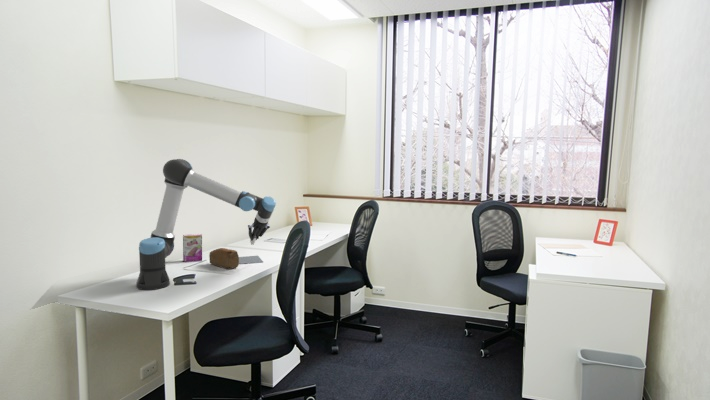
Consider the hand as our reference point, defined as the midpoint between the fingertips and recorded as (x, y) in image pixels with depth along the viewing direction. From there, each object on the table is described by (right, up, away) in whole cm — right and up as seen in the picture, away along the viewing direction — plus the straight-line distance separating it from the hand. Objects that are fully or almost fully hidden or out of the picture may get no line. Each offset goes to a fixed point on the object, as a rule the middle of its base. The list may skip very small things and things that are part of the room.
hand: (251, 242), depth 259 cm
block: (-8, -9, -7) cm, 14 cm away
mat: (-8, -13, +15) cm, 21 cm away
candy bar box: (-40, -13, +12) cm, 43 cm away
